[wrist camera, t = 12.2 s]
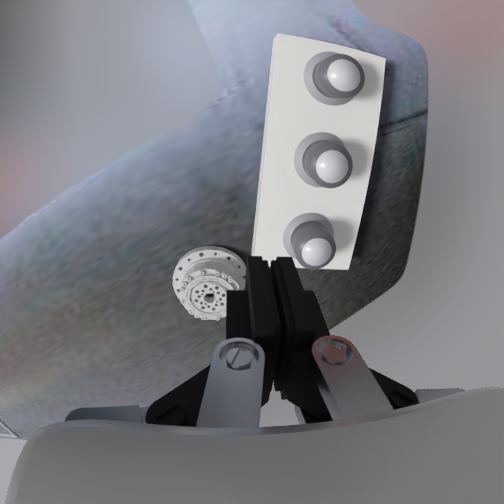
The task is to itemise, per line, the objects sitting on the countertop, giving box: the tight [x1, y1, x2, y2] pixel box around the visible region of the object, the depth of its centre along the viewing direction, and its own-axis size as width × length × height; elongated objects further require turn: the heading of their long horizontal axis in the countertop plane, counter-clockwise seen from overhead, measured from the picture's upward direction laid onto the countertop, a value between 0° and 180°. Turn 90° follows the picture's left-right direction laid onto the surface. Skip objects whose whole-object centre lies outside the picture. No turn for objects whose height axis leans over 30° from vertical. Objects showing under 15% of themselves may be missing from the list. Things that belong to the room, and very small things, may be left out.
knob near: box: [312, 54, 365, 98], centre depth 24 cm, size 4×4×3 cm
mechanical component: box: [173, 246, 246, 320], centre depth 38 cm, size 10×4×10 cm
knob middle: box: [302, 140, 353, 188], centre depth 28 cm, size 4×4×3 cm
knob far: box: [291, 221, 336, 269], centre depth 32 cm, size 4×4×3 cm
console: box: [252, 34, 386, 270], centre depth 31 cm, size 26×12×3 cm, turn 175°
